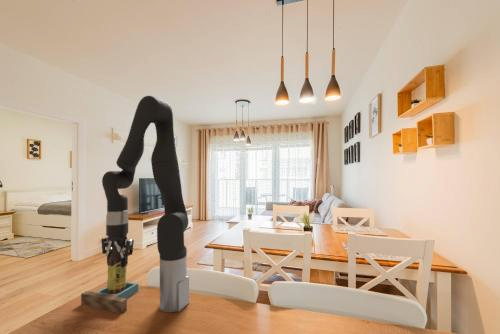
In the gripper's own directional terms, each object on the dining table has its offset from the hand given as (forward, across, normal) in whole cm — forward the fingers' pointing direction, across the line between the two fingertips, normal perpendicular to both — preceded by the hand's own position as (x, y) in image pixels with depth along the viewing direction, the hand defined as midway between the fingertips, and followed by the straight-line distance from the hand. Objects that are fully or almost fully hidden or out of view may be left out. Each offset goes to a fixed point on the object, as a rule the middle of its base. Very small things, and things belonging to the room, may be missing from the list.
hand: (117, 265), depth 91 cm
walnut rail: (+12, -2, +7) cm, 14 cm away
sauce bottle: (+10, 0, 0) cm, 10 cm away
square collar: (+12, 0, 0) cm, 12 cm away
